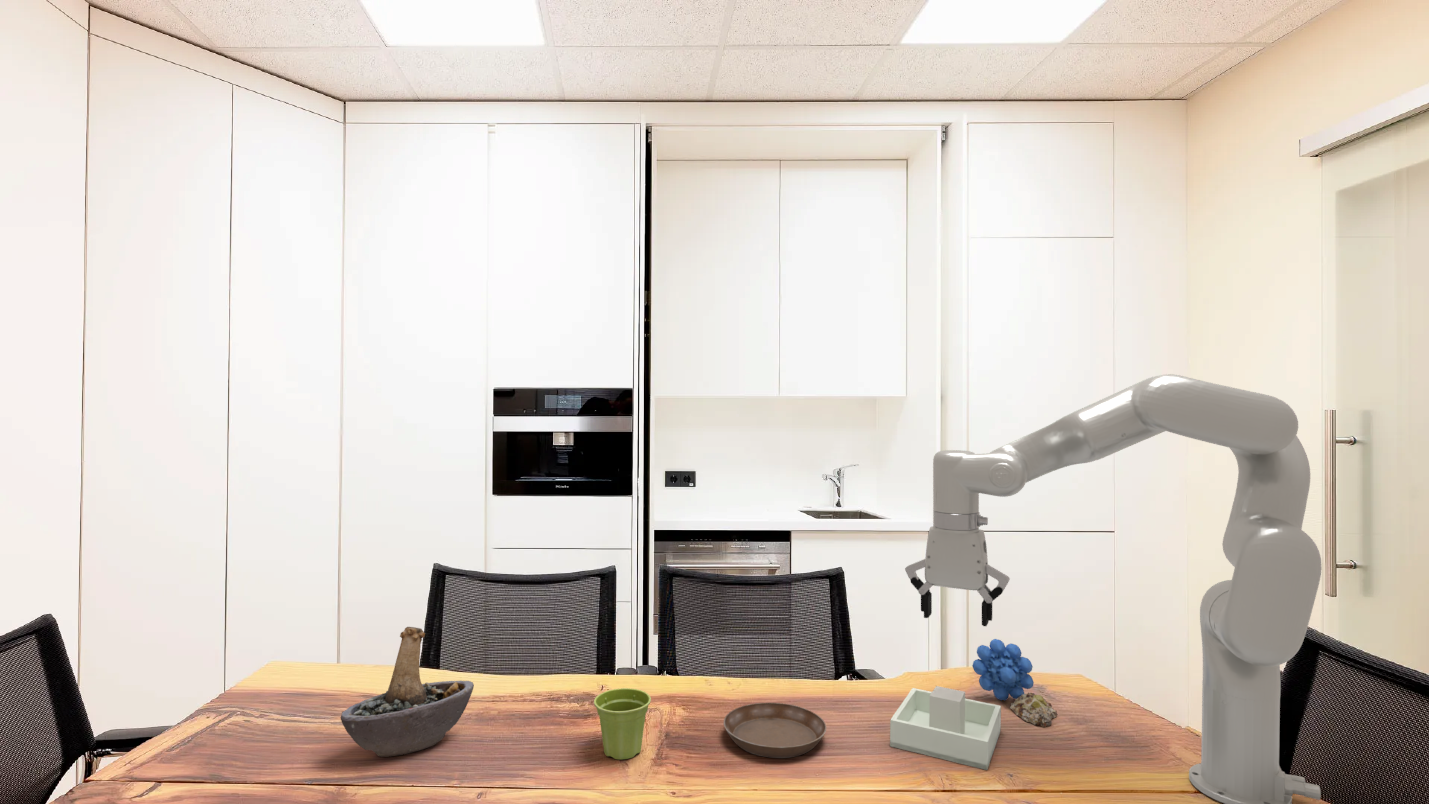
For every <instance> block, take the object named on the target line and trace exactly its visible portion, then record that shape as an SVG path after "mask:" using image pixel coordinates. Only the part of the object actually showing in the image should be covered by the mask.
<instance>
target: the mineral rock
mask: <svg viewBox="0 0 1429 804" xmlns="http://www.w3.org/2000/svg"><path fill="white" fill-rule="evenodd" d="M1010 705H1011V706H1010V707H1009V708H1010V710H1011V709H1012V711H1013V712H1014V714H1015V715H1016V716H1017V717H1019V718H1021V719H1022V720H1023V721H1024V722H1025V723H1031V724H1032V725H1034V726H1039V727H1041V728H1045V727H1050V726H1051V725H1052V723H1053V722H1052V719H1054V718H1057V716H1058V711H1057V710H1056V709H1054V707H1053V705H1052V704H1051V703H1050V702H1048V701H1047V699H1045V698H1044V697H1043V695H1041V694H1035V693H1033V692H1027V693H1024V695H1021V696H1020V697H1018V698H1017V699H1014V701H1013V702H1011V703H1010Z"/></svg>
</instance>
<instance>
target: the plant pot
mask: <svg viewBox="0 0 1429 804" xmlns="http://www.w3.org/2000/svg"><path fill="white" fill-rule="evenodd" d="M651 702H652V698H651V695H650V694H649V693H647V692H646V691H645V690H642V689H637V688H627V687H626V688H625V687H622V688H614V689H609V690H606V691H603V692H601V693H599V694H598V695H597V696H595V698H594V700H593V705H594V707H595V708H596V712H597V714H598V717H599V724H600V731H601V739H602V747H603V752H604V755H605V756H606V757H611V758H613V759H615V760H628V759H632V758H634V757H635V756H636V755H637V754H640V753H641V750H642V745H643V744H642V743H643V737H644V731H645V730H644V728H645V721H646V713H647V712H648V709H649V705H650V704H651Z"/></svg>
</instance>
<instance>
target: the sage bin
mask: <svg viewBox="0 0 1429 804" xmlns="http://www.w3.org/2000/svg"><path fill="white" fill-rule="evenodd" d="M931 693H932V691H931V690H930V691H929V690H925V689H919V688H915V687H912V688H911V689H910V691H909V692H908V694H907V695H906V697H905V698H904V700H903V701H902V703H900V705H899V706H898V708H897V710H896V711H895V713H894V714H893V715H892V717H891V719H889V720H890V721H889V722H890V723H889V729H890V730H889V747H892V748H896V749H899V750H902V751H903V750H904V751H909V752H911V753H916V754H920V755H922V756H923V755H925V756H927V757H928V756H929V757H932V758H936V759H940V760H944V761H947V762H952V763H957V764H960V765H965V766H969V767H972V768H977V769H981V770H985V771H988V770H989V766H990V763H991V760H992V758H993V754H994V751H995V748H996V746H997V743H998V740H999V737H1000V734H1001V730H1002V729H1001V727H1002V723H1001V720H1002V719H1001V717H1002V716H1001V715H1002V714H1001V713H1002V705H999V704H994V703H989V702H984V701H979V700H974V699H969V698H965V732H964V734H960V733H955V732H951V731H947V730H942V729H938V728H933V727H929V706H930V694H931Z"/></svg>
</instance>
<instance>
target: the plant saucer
mask: <svg viewBox="0 0 1429 804" xmlns="http://www.w3.org/2000/svg"><path fill="white" fill-rule="evenodd" d="M723 726H724V728H725V729H724V730H725V732H726V733H727V734H728V735H729V737H730V739H731V740H732V741H733V742H734V743H735V745H737V746H738V747H739V748H741V749H742V750H744V751H745V752H747V753H750V754H752V755H755V756H759V757H765V758H769V759H770V758H771V759H786V758H793V757H795V758H796V757H799V756H801V755H804V754H806V753H808V752H810V751H811V750H813V749H814V748H815V747H816V746H817V745H818V744H819V742H821V740H822V738H823V737H824V735H825V734H826V732H827V724H826V721H824V719H823V718H822V717H821V716H819V714H817V713H816V712H814V711H811V710H809V709H808V708H804V707H801V706H798V705H794V704H790V703H782V702H781V703H780V702H758V703H757V702H756V703H748V704H745V705H741V706H738V707H736V708H735V709H731V711H729V712H728V713H727V714H726V715H725V717H724V718H723Z"/></svg>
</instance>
